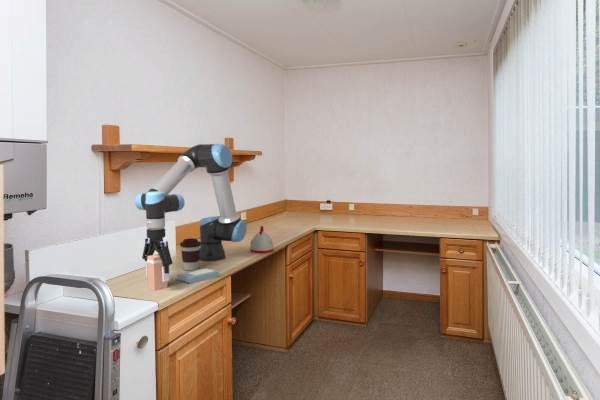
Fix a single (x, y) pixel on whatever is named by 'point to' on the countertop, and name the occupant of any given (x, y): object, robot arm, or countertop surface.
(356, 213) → the countertop surface
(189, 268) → the coffee cup
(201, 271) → the board
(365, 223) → the countertop surface
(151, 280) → the pink rectangular box
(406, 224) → the countertop surface
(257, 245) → the grey dome
